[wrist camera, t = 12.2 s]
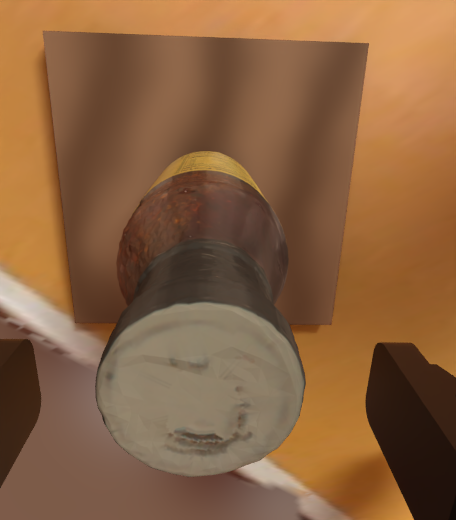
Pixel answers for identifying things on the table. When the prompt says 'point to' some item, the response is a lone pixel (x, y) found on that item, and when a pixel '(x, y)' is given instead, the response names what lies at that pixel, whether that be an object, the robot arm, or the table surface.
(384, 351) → the robot arm
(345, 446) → the table surface
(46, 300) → the table surface
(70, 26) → the table surface
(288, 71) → the walnut board
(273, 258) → the sauce bottle
